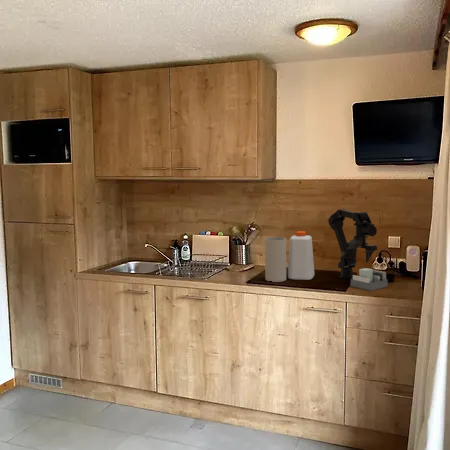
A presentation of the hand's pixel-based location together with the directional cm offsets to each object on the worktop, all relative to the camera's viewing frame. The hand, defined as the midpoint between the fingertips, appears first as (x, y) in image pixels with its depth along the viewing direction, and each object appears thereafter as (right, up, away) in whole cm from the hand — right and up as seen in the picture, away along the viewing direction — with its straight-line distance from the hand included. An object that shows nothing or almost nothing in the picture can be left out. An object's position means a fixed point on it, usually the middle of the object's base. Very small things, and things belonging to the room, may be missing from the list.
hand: (360, 261), depth 287 cm
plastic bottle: (-31, -11, +18) cm, 38 cm away
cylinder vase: (-47, -12, +13) cm, 50 cm away
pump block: (0, -10, -10) cm, 14 cm away
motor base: (+2, -13, -8) cm, 16 cm away
